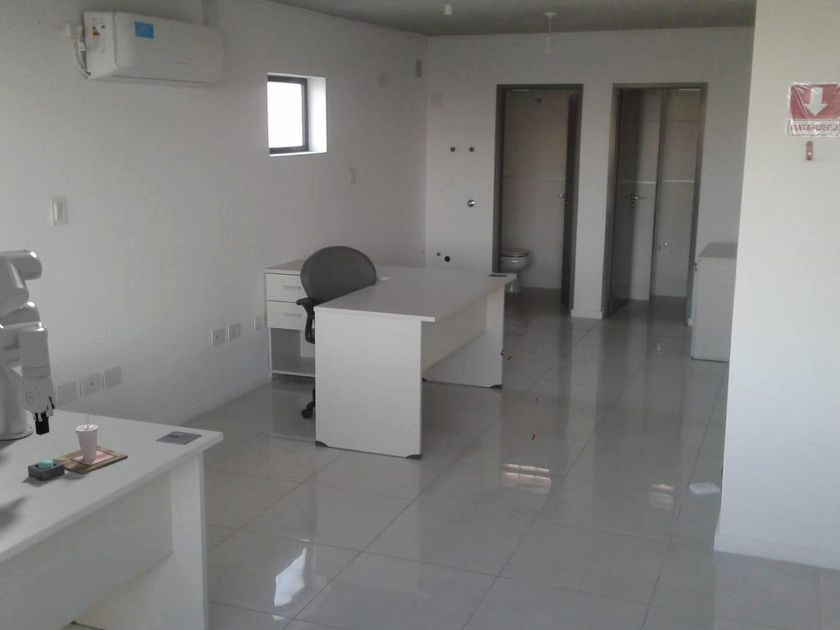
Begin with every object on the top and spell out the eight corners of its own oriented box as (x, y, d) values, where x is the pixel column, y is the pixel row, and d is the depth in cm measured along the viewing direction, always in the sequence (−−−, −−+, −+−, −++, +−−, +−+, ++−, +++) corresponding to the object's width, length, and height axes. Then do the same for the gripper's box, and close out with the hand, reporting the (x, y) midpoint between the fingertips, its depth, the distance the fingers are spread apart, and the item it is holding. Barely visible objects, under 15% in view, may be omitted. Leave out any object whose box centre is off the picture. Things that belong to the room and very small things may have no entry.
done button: (36, 472, 268) (35, 462, 267) (48, 468, 271) (47, 458, 270) (44, 475, 265) (43, 465, 265) (56, 471, 269) (55, 461, 268)
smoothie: (93, 463, 275) (89, 418, 272) (74, 461, 277) (69, 416, 273) (105, 455, 281) (101, 411, 278) (85, 453, 283) (81, 409, 280)
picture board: (49, 462, 278) (48, 460, 278) (95, 446, 290) (94, 444, 290) (81, 474, 269) (81, 472, 268) (127, 457, 281) (127, 455, 281)
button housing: (28, 476, 268) (27, 466, 267) (50, 468, 273) (49, 458, 272) (42, 481, 264) (41, 471, 263) (64, 473, 269) (63, 464, 269)
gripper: (8, 370, 263) (15, 432, 266) (39, 378, 254) (46, 442, 258) (33, 364, 269) (39, 425, 272) (64, 371, 260) (70, 434, 264)
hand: (42, 433), depth 265 cm, fingers closed
